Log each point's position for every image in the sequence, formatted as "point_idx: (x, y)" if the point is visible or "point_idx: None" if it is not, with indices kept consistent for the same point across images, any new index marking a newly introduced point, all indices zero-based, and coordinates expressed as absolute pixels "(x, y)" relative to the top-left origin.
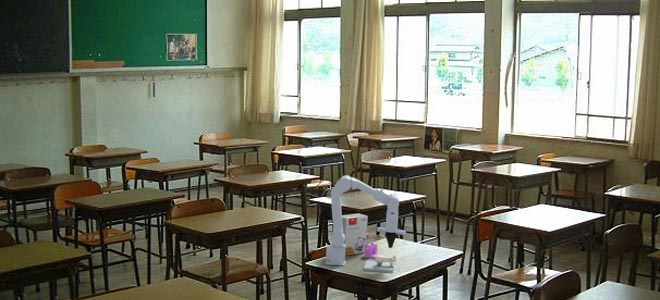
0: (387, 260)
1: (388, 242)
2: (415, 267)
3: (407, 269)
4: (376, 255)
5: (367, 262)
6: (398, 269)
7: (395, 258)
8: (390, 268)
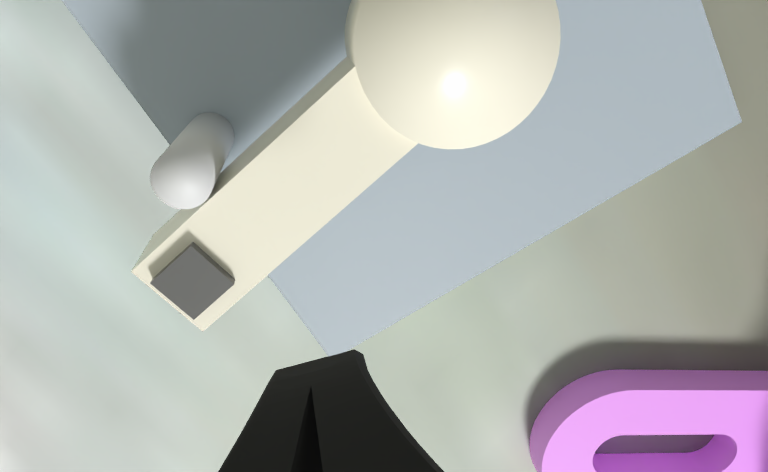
0: (278, 122)
1: (368, 443)
2: (33, 467)
3: (21, 303)
4: (731, 458)
5: (678, 31)
6: (114, 194)
7: (143, 256)
8: (126, 1)
